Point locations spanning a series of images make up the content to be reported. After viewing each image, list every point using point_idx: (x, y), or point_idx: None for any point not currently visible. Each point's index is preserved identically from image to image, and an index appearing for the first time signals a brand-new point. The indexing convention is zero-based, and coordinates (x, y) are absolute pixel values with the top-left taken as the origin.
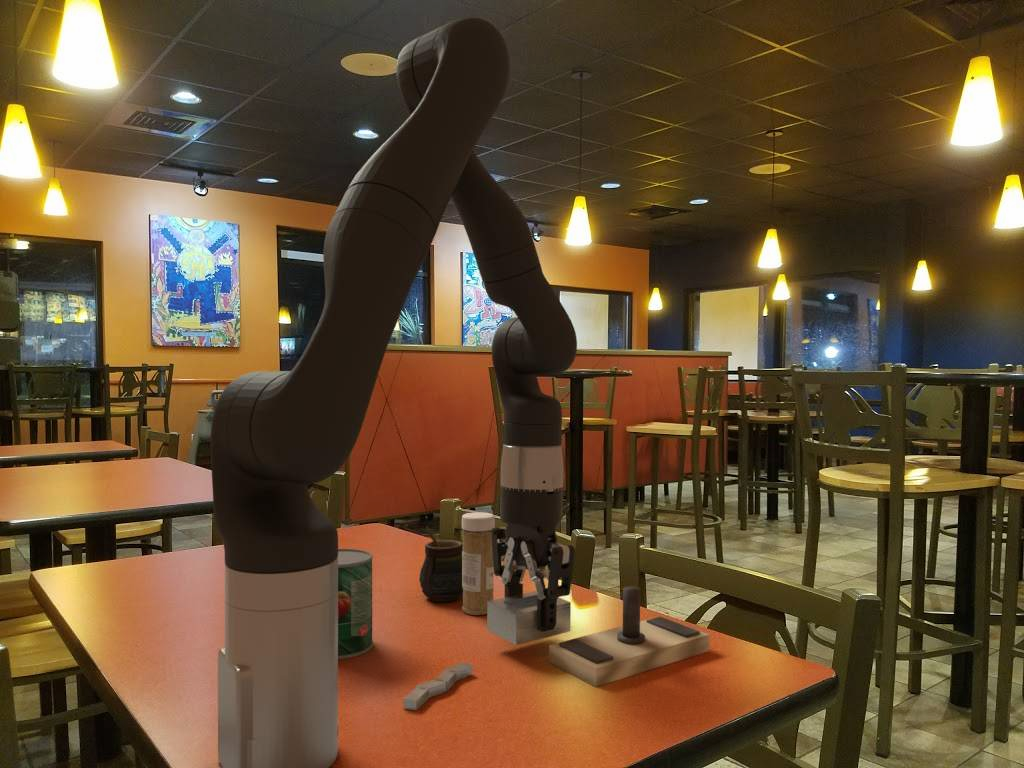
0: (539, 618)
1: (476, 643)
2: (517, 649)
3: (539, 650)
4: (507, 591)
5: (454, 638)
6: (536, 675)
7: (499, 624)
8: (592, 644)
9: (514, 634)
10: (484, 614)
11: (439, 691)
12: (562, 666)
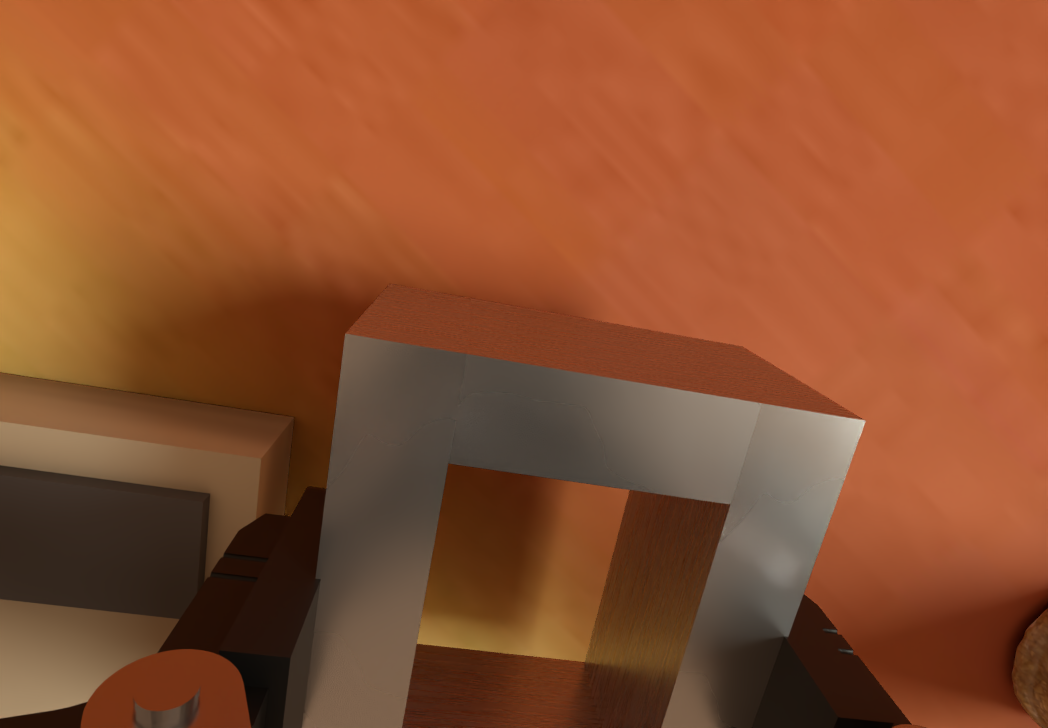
0: (297, 532)
1: (794, 325)
2: None
3: (460, 499)
4: (823, 676)
5: (947, 286)
6: (202, 234)
7: (611, 339)
8: (96, 645)
9: (399, 297)
10: (1025, 635)
11: None
12: (162, 404)
